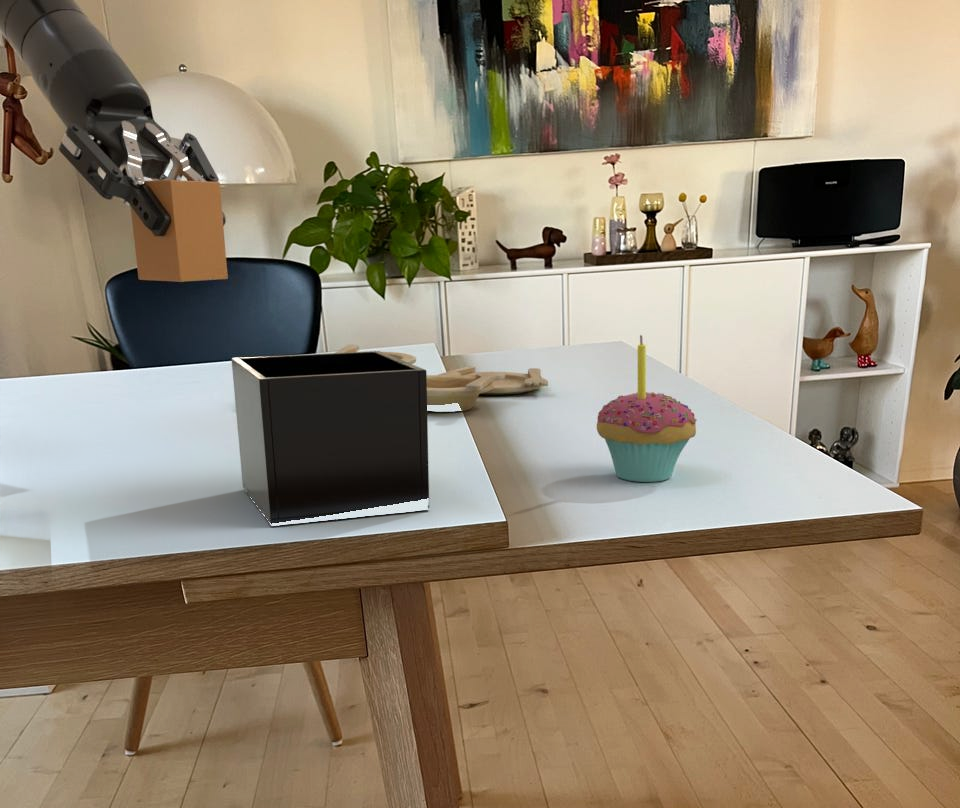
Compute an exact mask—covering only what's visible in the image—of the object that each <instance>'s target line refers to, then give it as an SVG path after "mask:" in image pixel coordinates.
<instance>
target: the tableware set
mask: <svg viewBox="0 0 960 808" xmlns="http://www.w3.org/2000/svg"><path fill="white" fill-rule="evenodd" d="M346 352H360V345H359V344H355V343H354V344H347V345H345V346H344V347H342V348H341V349H339V350H337V351H335V352H334V353H346ZM382 352H383V353H385V354H388V355H390V356H393V357H395V358H398V359H400V360H403V361H405V362H407V363H410V364H412V365H414V364H415V363H416V362H417V357H416V356H414V355H412V354H409V353H404V352H395V351H382ZM541 372H542V370H541V368H537V367H533V368H532V367H531V368H527V373H523V372H515V371H514V372H513V371H476V366H474V365H473V366H471V365H470V366H463V367H459V368H456V369H452V370H450V371H445V372H442V373H439V374H432V375H431V374H429V375H428V374H427V405H445V404H452V403H458V404H459V406H460V408H461V410H462V412H461V413H463V412H466V411H469V410H472V408H473V407H474V405H475V403H476V401H477V400H478V398H479V395H485V396H486V395H487V396H488V395H495V396H497V395H498V396H499V395H503V396H504V395H518V394H525V393H528V392H529V393H530V392H531V391H534V390H538V389H541V388H543V387H548V385H549V381H548V379H547V378H544V377H542V375H541V374H542V373H541Z"/></svg>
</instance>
